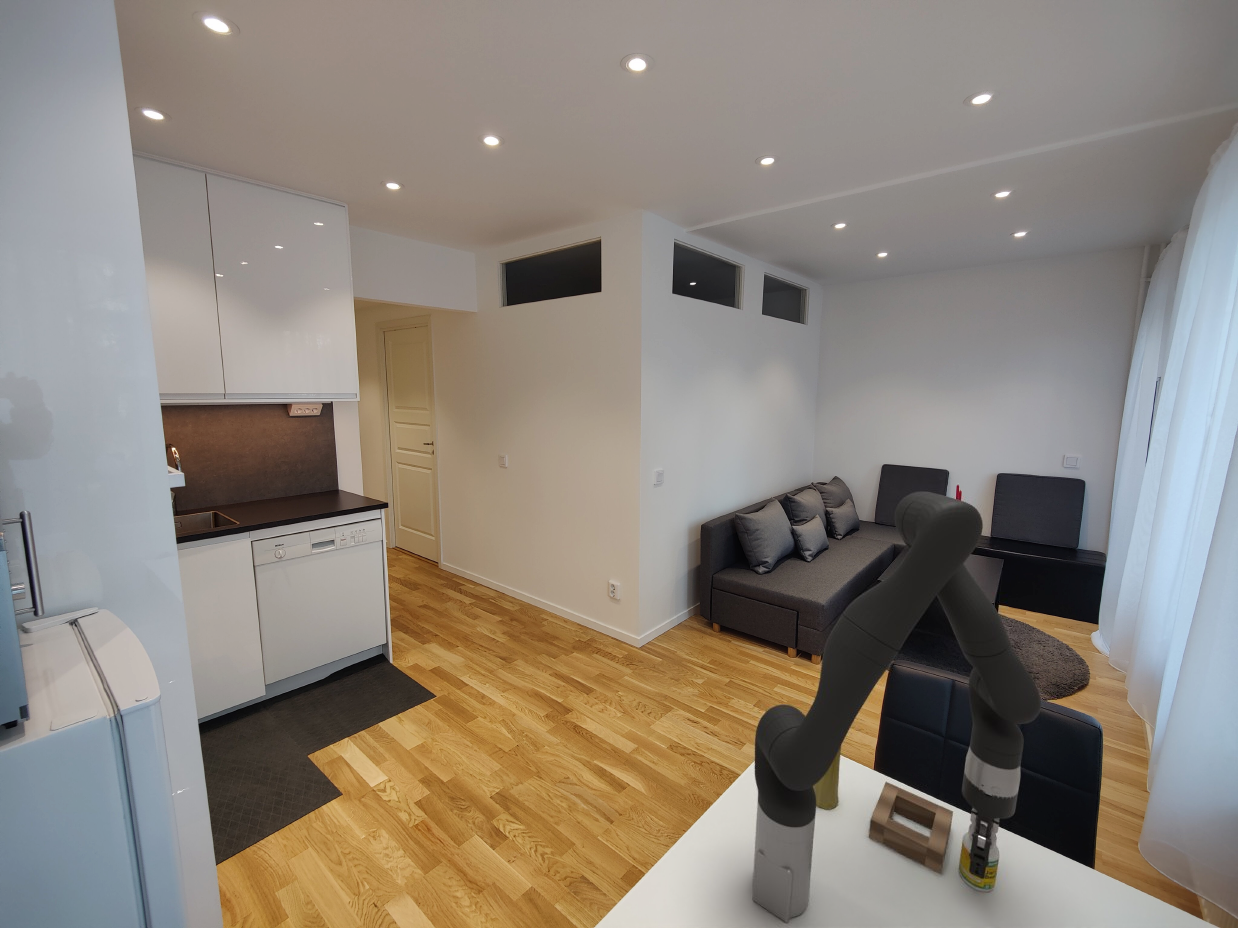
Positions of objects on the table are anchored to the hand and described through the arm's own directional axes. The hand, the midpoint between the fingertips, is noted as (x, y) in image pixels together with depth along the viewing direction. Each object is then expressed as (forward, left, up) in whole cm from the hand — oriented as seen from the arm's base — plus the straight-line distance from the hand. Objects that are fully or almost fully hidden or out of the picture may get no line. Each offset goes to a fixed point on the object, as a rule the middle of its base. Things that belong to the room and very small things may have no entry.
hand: (978, 861), depth 93 cm
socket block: (+3, +11, -3) cm, 12 cm away
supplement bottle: (0, 0, -4) cm, 4 cm away
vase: (+1, +27, -4) cm, 27 cm away
